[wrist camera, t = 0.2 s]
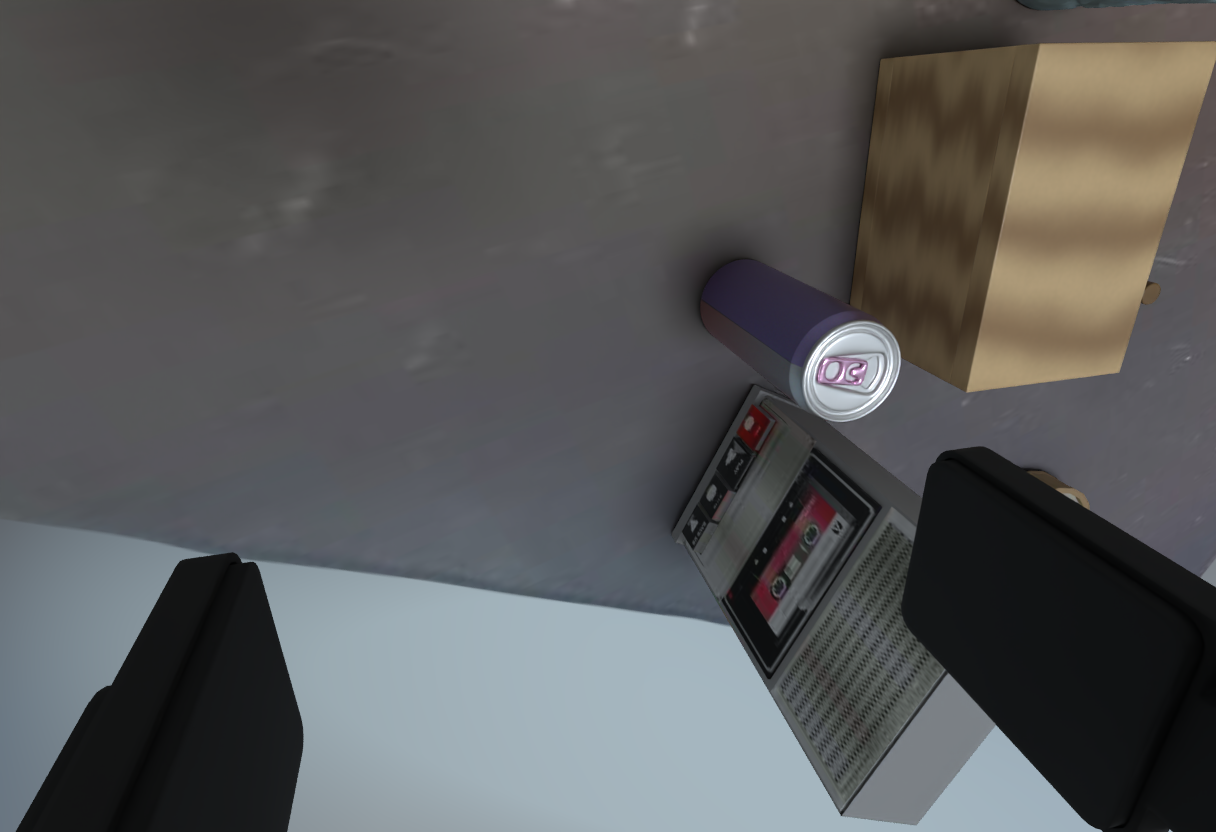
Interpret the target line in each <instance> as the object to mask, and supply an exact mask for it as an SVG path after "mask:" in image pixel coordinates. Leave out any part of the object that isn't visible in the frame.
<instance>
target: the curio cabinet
mask: <svg viewBox="0 0 1216 832" xmlns="http://www.w3.org/2000/svg"><path fill="white" fill-rule="evenodd" d="M1215 61H1216V41H1195V42H1111V43H1039V44H1029V45H1019V46H1008V47H998V48H987V49H977V50H967V51H957V52H946V53H936V54H926V55H916V56H906V57H896V58H885V59H881V61H880V69H879V77H878V85H877V93H876V100H875V108H874V116H873V124H872V132H871V140H870V148H869V156H868V164H867V171H866V179H865V187H864V195H863V203H862V211H861V219H860V227H859V235H858V243H857V250H856V258H855V266H854V274H853V282H852V290H851V298H850V305H851V306H853V307H855V308H857V309H859V310H861V311H863V312H865V313H868V314H870V315H872V316H873V317H875V318H876V319H878V320H879V321H880V322H881V323H882V324H883V325H884V326H885V327H886V328H887V329H889V330H890V331H891V332H892V334H893V335H894V336H895V338H896V340H897V342H898V344H899V348H900V352H901V358H903V359H905V360H907V361H909V362H910V363H912V364H914V365H916V366H918V367H920V368H922V369H923V370H925V371H927V372H929V373H931V374H933V375H935V376H937V377H938V378H940V379H942V380H944V381H946V382H948V383H950V384H952V385H954V386H956V387H957V388H959V389H961V390H963V391H965V392H974V391H981V390H989V389H997V388H1004V387H1012V386H1020V385H1027V384H1035V383H1043V382H1050V381H1058V380H1066V379H1073V378H1081V377H1089V376H1097V375H1104V374H1112V373H1119V371H1120V368H1121V365H1122V362H1123V358H1124V355H1125V352H1126V349H1127V345H1128V342H1129V339H1130V336H1131V332H1132V329H1133V326H1134V323H1135V319H1136V316H1137V313H1138V310H1139V307H1140V303H1141V300H1142V297H1143V294H1144V290H1145V287H1146V284H1147V281H1148V277H1149V274H1150V271H1151V268H1152V264H1153V261H1154V258H1155V255H1156V251H1157V248H1158V245H1159V242H1160V239H1161V235H1162V232H1163V229H1164V226H1165V222H1166V219H1167V216H1168V213H1169V209H1170V206H1171V203H1172V200H1173V196H1174V193H1175V190H1176V187H1177V184H1178V180H1179V177H1180V174H1181V171H1182V167H1183V164H1184V161H1185V158H1186V154H1187V151H1188V148H1189V145H1190V141H1191V138H1192V135H1193V132H1194V129H1195V125H1196V122H1197V119H1198V116H1199V112H1200V109H1201V106H1202V103H1203V99H1204V96H1205V93H1206V90H1207V86H1208V83H1209V80H1210V77H1211V73H1212V70H1213V67H1214V64H1215Z"/></svg>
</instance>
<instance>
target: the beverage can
mask: <svg viewBox="0 0 1216 832" xmlns="http://www.w3.org/2000/svg"><path fill="white" fill-rule="evenodd" d="M700 312H701V317H702V321H703V323H704V325H705V327H706V329H707V330H708V331H709V332H710V334H712V335H713V336H714V337H715V338H716V339H718V340H719V341H720V342H721V343H722V344H724V345H725V346H726V347H727V348H729V349H730V350H731V351H732V352H734V353H735V354H736V355H737V356H738V357H740V358H741V359H742V360H743V361H745V362H746V363H747V364H748V365H749V366H751V367H752V368H753V369H754V370H756V371H757V372H758V373H759V374H761V375H762V376H763V377H764V378H765V379H767V380H768V381H769V382H770V383H772V384H773V385H774V386H775V387H776V388H778V389H779V390H780V391H781V392H783V393H784V394H785V395H786V396H788V397H789V398H790V399H791V400H792V401H794V402H795V403H796V404H797V405H799V406H800V407H801V408H802V409H804V410H805V411H806V412H808V413H810V414H812V415H815V416H818V417H820V418H822V419H824V420H827V421H830V422H849V421H853V420H857V419H859V418H862V417H864V416H866V415H867V414H869V413H871V412H872V411H873V410H875V409H876V408H877V407H878V406H879V405H881V403H882V402H883V401H884V400H885V399H886V398H887V397H888V395H889V394H890V392H891V391H892V389H893V387H894V385H895V383H896V381H897V378H898V376H899V372H900V367H901V352H900V348H899V344H898V342H897V340H896V338H895V336H894V335H893V334H892V332H891V331H890V330H889V329H887V328H886V327H885V326H884V325H883V324H882V323H881V322H880V321H879V320H878V319H876V318H875V317H873V316H872V315H870V314H868V313H865V312H863V311H861V310H859V309H857V308H855V307H853V306H851V305H849V304H847V303H845V302H842V301H840V300H838V299H836V298H834V297H832V296H830V295H828V294H826V293H824V292H822V291H819V290H817V289H815V288H813V287H811V286H809V285H807V284H805V283H803V282H801V281H799V280H796V279H794V278H792V277H790V276H788V275H786V274H784V273H782V272H780V271H778V270H776V269H773V268H771V267H769V266H767V265H765V264H763V263H761V262H758V261H755V260H750V259H743V260H737V261H733V262H731V263H728V264H726V265H725V266H723V267H722V268H720V269H719V270H718V271H717V272H716V273H715V274H714V275H713V276H712V277H711V278H710V279H709V281H708V283H707V284H706V286H705V288H704V291H703V294H702V297H701V303H700Z"/></svg>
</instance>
